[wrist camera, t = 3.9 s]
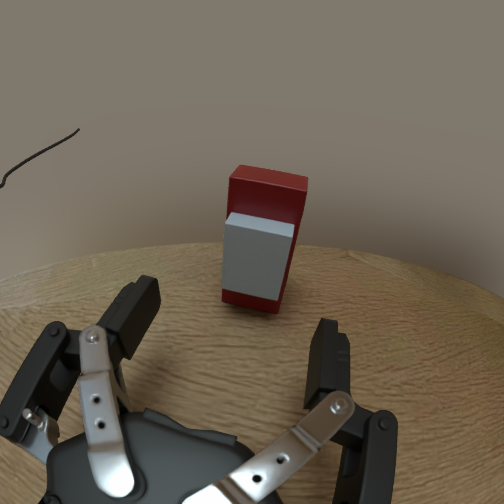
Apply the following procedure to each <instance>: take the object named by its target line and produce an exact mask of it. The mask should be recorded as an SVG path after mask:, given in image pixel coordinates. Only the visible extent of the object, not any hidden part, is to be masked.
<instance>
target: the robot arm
mask: <svg viewBox="0 0 504 504" xmlns="http://www.w3.org/2000/svg"><path fill="white" fill-rule="evenodd" d="M79 130H80V129H77V130H76V131H75V132H74V133H73V134H71V135H69V136H68V137H66V138H64V139H63V140H61V141H59V142H57V143H55V144H53V145H51V146H49V147H48V148H45V149H43V150H41V151H40V152H38V153H36V154H34V155H32V156H31V157H29V158H27V159H26V160H24V161H23V162H21V163H20V164H18V165H17V166H15V167H14V168H12V169H11V170H10V171H8V172H7V173H6V174H5V175H4V177H3V180H2V183H1V184H0V188H2V187H3V186H4V185H5V181H6V178H7V177H8V175H10V174H11V173H12V172H13V171H15V170H16V169H18V168H19V167H21V166H22V165H23V164H25V163H26V162H28V161H30V160H31V159H33V158H35V157H37V156H38V155H40V154H42V153H44V152H45V151H47V150H49V149H51V148H53V147H55V146H57V145H59V144H60V143H62V142H64V141H66V140H67V139H69V138H71V137H72V136H74V135H75V134H76V133H77V132H78V131H79ZM160 304H161V297H160V291H159V285H158V280H157V279H156V278H153V277H150V276H146V275H141V276H140V278H139V279H138V280H137V282H136V283H133V282H131V283H129V284H128V285H126V286H125V287H123V289H122V290H121V291H120V293H119V294H118V296H117V297H116V298H115V299H114V301H113V303H111V305H110V306H109V307H108V309H107V310H106V312H105V313H104V314H103V316H102V317H101V319H100V320H99V322H98V323H97V324H96V325H91V326H88V327H86V328H85V329H83V330H82V331H79V330H69V329H67V328H66V326H65V325H64V323H62V322H60V321H54V322H51V323H50V324H48V325H47V326H46V327H45V329H44V330H43V332H42V333H41V335H40V336H39V338H38V339H37V341H36V342H35V344H34V346H33V347H32V349H31V350H30V352H29V353H28V355H27V357H26V358H25V360H24V362H23V363H22V365H21V367H20V369H19V370H18V372H17V374H16V375H15V377H14V379H13V381H12V383H11V385H10V386H9V388H8V390H7V392H6V394H5V396H4V398H3V400H2V402H1V404H0V435H1V436H3V437H4V438H6V439H8V440H9V441H10V442H11V443H13V444H15V445H17V446H18V447H20V448H22V449H24V450H26V451H27V452H28V453H30V454H31V455H32V456H34V457H35V458H36V459H38V460H39V461H41V462H42V463H43V464H45V465H46V469H47V489H46V493H45V495H44V496H43V498H42V499H41V501H40V502H39V503H38V504H283V502H282V500H281V499H280V497H279V495H278V494H277V492H276V490H275V489H276V488H277V487H279V486H280V485H281V484H283V483H284V482H285V481H286V480H287V479H289V478H290V477H291V476H292V475H293V474H295V473H296V472H297V471H298V470H299V469H300V468H301V467H303V466H304V465H305V464H306V463H307V462H308V461H309V460H310V459H311V458H312V457H314V456H315V455H316V454H317V453H318V452H319V450H320V449H321V447H322V446H323V445H324V444H325V443H326V442H327V441H328V440H330V441H333V442H335V443H337V444H340V445H342V446H343V448H342V455H341V461H340V467H339V472H338V477H337V482H336V487H335V492H334V497H333V501H332V504H391V499H392V492H393V484H394V476H395V466H396V453H397V434H398V422H397V419H396V417H395V416H394V414H393V413H391V412H390V411H387V410H380V411H377V412H375V413H374V412H371V411H369V410H367V409H364V408H362V407H360V406H358V405H357V404H356V403H355V402H354V400H353V399H352V397H351V393H350V343H349V340H348V338H347V336H346V334H344V333H338V322H337V321H336V320H330V319H325V318H321V320H320V322H319V324H318V327H317V329H316V331H315V333H314V335H313V338H312V341H311V345H310V353H309V363H308V372H307V381H306V390H305V398H304V406H303V409H309V413H308V414H307V415H306V416H305V417H303V418H302V419H301V420H300V421H299V422H298V423H297V424H295V425H294V426H292V427H291V428H289V429H288V430H287V431H286V432H285V433H283V434H282V435H281V436H280V437H278V438H277V439H276V440H275V441H273V442H272V443H271V444H270V445H268V446H267V447H266V448H264V449H263V450H262V451H260V452H259V453H258V454H256V455H255V454H254V453H253V452H252V451H251V450H250V449H249V448H248V447H247V446H245V445H244V444H242V443H240V442H238V441H236V439H237V436H234V435H229V434H225V433H222V432H218V431H214V430H197V429H188V428H186V427H184V426H182V425H181V424H179V423H178V422H176V421H174V420H173V419H171V418H170V417H168V416H167V415H164V414H161V413H159V412H156V411H154V410H151V409H148V408H145V410H144V412H133V408H132V406H131V403H130V401H129V398H128V395H127V391H126V387H125V382H124V378H123V373H122V368H121V364H120V362H121V360H122V358H126V359H128V360H131V358H132V356H133V354H134V353H135V351H136V349H137V347H138V345H139V344H140V342H141V340H142V338H143V337H144V335H145V333H146V331H147V330H148V328H149V326H150V324H151V323H152V321H153V319H154V318H155V316H156V314H157V312H158V311H159V308H160ZM80 373H81V375H80ZM77 379H78V388H79V396H80V403H81V410H82V416H83V422H84V427H85V432H84V433H82V434H79V435H77V436H75V437H73V438H70V439H68V440H66V441H63V442H61V443H59V444H58V438H59V437H60V432H59V426H58V423H57V420H58V418H59V416H60V414H61V412H62V410H63V407H64V405H65V403H66V401H67V399H68V397H69V395H70V393H71V391H72V389H73V387H74V385H75V383H76V381H77Z"/></svg>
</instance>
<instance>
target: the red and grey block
mask: <svg viewBox="0 0 504 504" xmlns="http://www.w3.org/2000/svg"><path fill="white" fill-rule="evenodd" d="M307 188H308V177H305V176H300V175H295V174H290V173H285V172H280V171H275V170H269V169H264V168H257V167H251V166H245V165H239V166H238V167H237V168H236V170H235V171H234V172H233V173H232V174H231V176H230V177H229V188H228V201H227V215H226V216H227V217H226V222H225V228H224V244H223V262H222V281H221V288H222V301H223V302H227V303H231V304H235V305H240V306H244V307H248V308H253V309H257V310H262V311H266V312H271V313H275V314H278V311H279V308H280V304H281V300H282V296H283V292H284V288H285V286H286V282H287V278H288V273H289V269H290V265H291V260H292V256H293V252H294V248H295V244H296V240H297V235H298V230H299V226H300V222H301V219H302V215H303V211H304V206H305V200H306V195H307Z"/></svg>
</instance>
